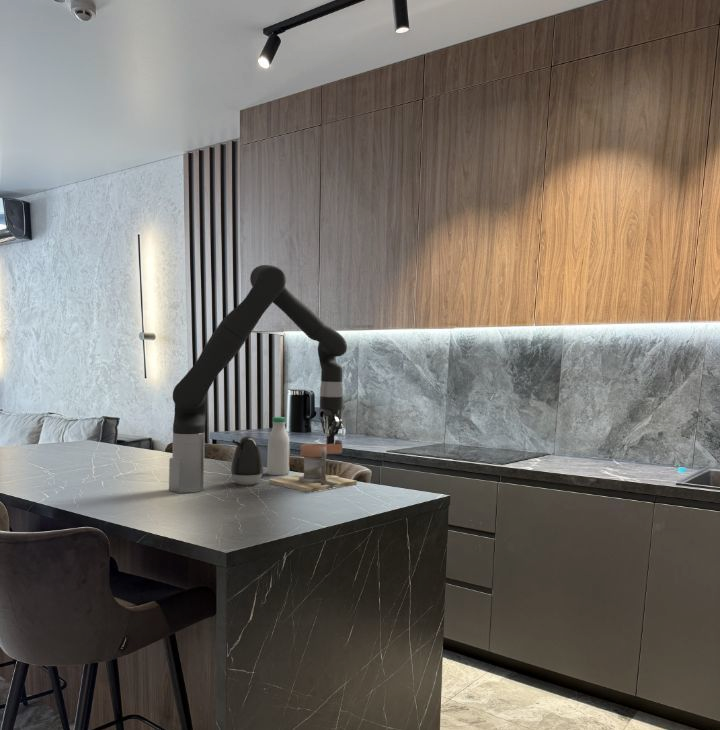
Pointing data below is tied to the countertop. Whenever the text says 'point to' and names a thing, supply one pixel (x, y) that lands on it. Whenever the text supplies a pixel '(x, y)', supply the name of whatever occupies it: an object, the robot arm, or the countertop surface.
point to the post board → (309, 486)
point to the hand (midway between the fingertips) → (330, 447)
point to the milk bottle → (278, 448)
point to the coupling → (320, 449)
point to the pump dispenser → (246, 462)
